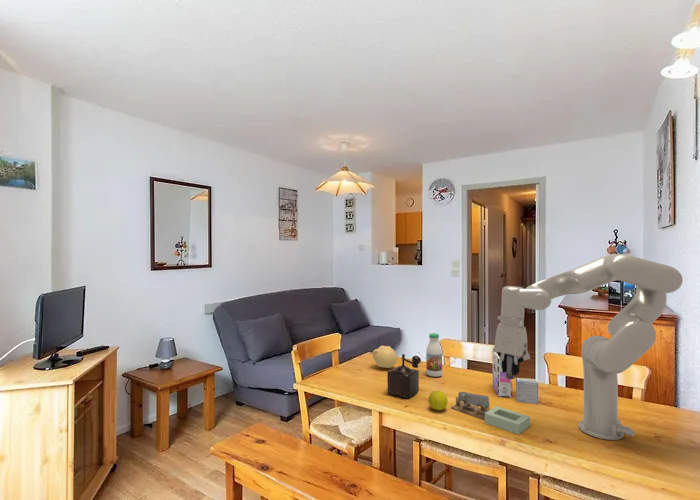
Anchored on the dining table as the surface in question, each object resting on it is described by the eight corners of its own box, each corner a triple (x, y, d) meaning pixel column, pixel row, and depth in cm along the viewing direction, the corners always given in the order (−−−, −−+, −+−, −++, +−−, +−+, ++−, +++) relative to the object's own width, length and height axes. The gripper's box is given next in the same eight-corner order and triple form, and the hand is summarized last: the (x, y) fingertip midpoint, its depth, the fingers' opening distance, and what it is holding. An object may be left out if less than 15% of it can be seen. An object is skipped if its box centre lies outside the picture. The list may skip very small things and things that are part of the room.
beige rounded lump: (385, 361, 209) (385, 342, 209) (401, 367, 199) (401, 346, 199) (369, 365, 202) (369, 345, 202) (385, 371, 192) (385, 350, 192)
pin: (516, 377, 134) (517, 349, 134) (512, 379, 132) (513, 351, 132) (507, 375, 136) (509, 347, 136) (503, 377, 134) (504, 349, 134)
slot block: (529, 426, 132) (529, 416, 132) (518, 435, 126) (518, 424, 126) (496, 415, 141) (496, 406, 141) (484, 423, 135) (484, 413, 135)
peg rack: (494, 414, 142) (494, 404, 142) (484, 420, 137) (484, 410, 137) (460, 403, 152) (460, 394, 152) (451, 408, 147) (451, 399, 147)
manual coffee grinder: (385, 393, 163) (385, 351, 163) (398, 386, 172) (398, 346, 171) (418, 402, 153) (418, 358, 153) (430, 394, 162) (430, 352, 162)
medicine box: (536, 400, 155) (536, 379, 155) (538, 404, 151) (538, 382, 151) (515, 398, 157) (515, 377, 157) (517, 402, 153) (517, 381, 153)
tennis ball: (438, 415, 142) (438, 396, 142) (424, 408, 147) (424, 390, 147) (451, 410, 146) (450, 392, 146) (436, 404, 151) (436, 386, 151)
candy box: (512, 397, 157) (512, 358, 157) (497, 396, 159) (497, 357, 158) (505, 386, 171) (505, 349, 171) (492, 385, 172) (491, 349, 172)
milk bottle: (423, 372, 190) (423, 332, 190) (437, 371, 192) (436, 331, 192) (431, 377, 182) (431, 336, 182) (445, 376, 185) (445, 335, 185)
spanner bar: (490, 405, 141) (489, 395, 141) (485, 408, 138) (484, 398, 139) (462, 400, 149) (461, 391, 150) (457, 402, 147) (456, 393, 147)
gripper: (485, 318, 138) (483, 369, 138) (531, 327, 125) (528, 382, 125) (495, 316, 142) (493, 365, 143) (540, 324, 130) (538, 377, 130)
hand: (510, 372), depth 134 cm, fingers closed on pin, 3 cm apart
